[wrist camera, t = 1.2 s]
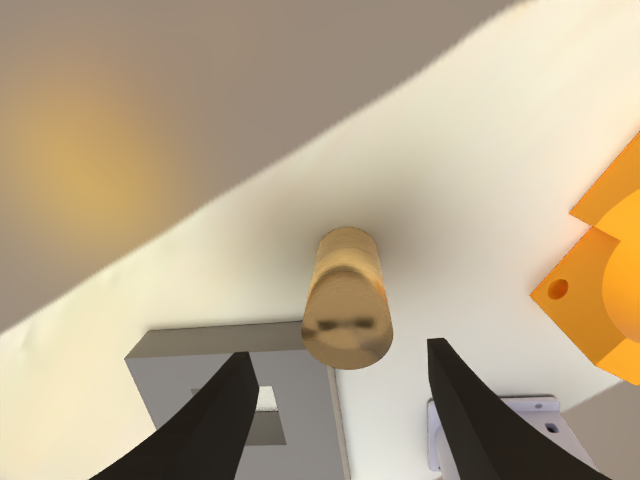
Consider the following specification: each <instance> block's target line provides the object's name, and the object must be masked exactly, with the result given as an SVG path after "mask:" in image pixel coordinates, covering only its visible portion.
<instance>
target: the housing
mask: <svg viewBox="0 0 640 480" xmlns="http://www.w3.org/2000/svg"><path fill="white" fill-rule="evenodd" d="M302 322H303V321H301V322H285V323H269V324H253V325H237V326H220V327H204V328H188V329H172V330H156V331H148V332H147V333H146V334H145V335H144V336H143V338H142V339H141V340H140V341H139V342H138V343H137V344H136V346H135V347H134V348H133V349H132V350H131V351H130V353H129V354H128V355H127V356H126V357H125V358H124V360H125V362H126V364H127V366H128V368H129V371H130V373H131V375H132V377H133V379H134V382H135V384H136V386H137V388H138V390H139V392H140V395H141V397H142V399H143V401H144V403H145V406H146V408H147V410H148V412H149V414H150V416H151V419H152V421H153V423H154V425H155V427H156V430H158V429H159V428H160V427H161V426H163V425H164V424H165V423H166V422H167V421H168V420H170V419H171V418H172V417H173V416H174V415H175V414H176V413H177V412H178V411H179V410H180V409H181V408H182V407H183V406H184V405H185V404H186V403H187V402H188V401H189V400H190V399H191V398H192V397H193V396H194V395H195V394H196V393H197V392H198V391H199V390H200V389H201V388H202V387H203V386H204V385H205V384H206V383H207V382H208V381H209V380H210V379H211V377H212V376H213V375H214V374H215V373H216V372H217V371H218V370H219V369H220V368H221V366H222V365H223V364H224V363H225V362H226V361H227V360H228V359H229V358H230V357H231V355H232V354H233V353H234V352H245V351H249V355H250V358H251V361H252V365H253V368H254V371H255V375H256V378H257V381H258V385H259V386H272V388H273V392H274V396H275V400H276V404H277V408H278V411H271V412H255V414H254V418H253V421H252V424H251V428H250V431H249V434H248V437H247V440H246V443H245V446H244V450H243V453H242V456H241V459H240V462H239V465H238V468H237V472H236V475H235V479H234V480H351V478H350V471H349V465H348V458H347V451H346V445H345V438H344V432H343V425H342V418H341V412H340V405H339V398H338V392H337V385H336V379H335V372H334V368H333V367H330V366H327V365H325V364H323V363H321V362H319V361H318V360H317V359H315V358H314V357H313V356H312V355H311V354H310V353H309V352H308V350H307V349H306V347H305V345H304V343H303V340H302V335H301V327H302Z"/></svg>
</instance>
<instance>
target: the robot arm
mask: <svg viewBox="0 0 640 480" xmlns="http://www.w3.org/2000/svg"><path fill="white" fill-rule="evenodd" d="M427 348H428V375H429V383H430V387H431V391H432V396H433V400H434V401H431V402H429V403H428V464H429V468H430V470H432V471H441V472H442V476H443V480H612V479H610V478H608V477H606V476H605V475H603V474H601V473H600V471H599V470H598V468H597V467H596V465H595V464H594V462H593V461H592V459H591V458H590V457H589V455H588V453H587V452H586V451H585V449H584V448H583V446H582V445H581V443H580V442H579V440H578V439H577V437H576V436H575V434H574V433H573V431H572V430H571V428H570V427H569V426H568V424H567V423H566V421H565V420H564V418H563V417H562V415H561V414H560V412H559V407H560V403H559V401H558V400H557V399H556V398H554V397H533V398H499V397H498V396H497V395H496V394H495V393H494V392H493V391H491V390H490V389H489V388H488V387H487V386H486V385H485V384H484V383H483V382H482V381H481V379H480V378H479V377H478V376H477V375H476V374H475V373H474V372H473V371H472V370H471V369H470V368H469V367H468V366H467V364H466V363H465V362H464V361H463V360H462V359H461V358H460V356H459V355H458V354H457V353H456V352H455V350H454V349H453V348H452V347H451V345H450V344H449V343H448V341H447V340H446V339H444V338H433V339H427ZM258 394H259V385H258V381H257V378H256V375H255V371H254V368H253V365H252V361H251V358H250V355H249V351H245V352H234V353H233V354H232V355H231V357H230V358H229V359H228V360H227V361H226V362H225V363H224V364H223V365H222V366H221V368H220V369H219V370H218V371H217V372H216V373H215V374H214V375H213V376H212V377H211V379H210V380H209V381H208V382H207V383H206V384H205V385H204V386H203V387H202V388H201V389H200V390H199V391H198V392H197V393H196V394H195V395H194V396H193V397H192V398H191V399H190V400H189V401H188V402H187V403H186V404H185V405H184V406H183V407H182V408H181V409H180V410H179V411H178V412H177V413H176V414H175V415H174V416H173V417H172V418H171V419H170V420H168V421H167V422H166V423H165V424H164V425H163V426H161V427H160V428H159V429H158V430H157V431H156V432H154V433H153V434H152V435H151V436H149V437H148V438H147V439H146V440H144V441H143V442H142V443H140V444H139V445H138V446H136V447H135V448H134V449H133V450H131V451H130V452H129V453H127V454H126V455H125V456H123V457H122V458H120V459H119V460H117V461H116V462H115V463H113V464H112V465H110V466H109V467H107V468H106V469H104V470H103V471H101V472H100V473H98V474H97V475H95V476H93V477H92V478H90V479H89V480H234V479H235V475H236V472H237V468H238V465H239V462H240V459H241V456H242V453H243V450H244V446H245V443H246V440H247V437H248V434H249V431H250V428H251V424H252V421H253V418H254V414H255V410H256V405H257V400H258Z"/></svg>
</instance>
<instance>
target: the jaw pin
mask: <svg viewBox="0 0 640 480" xmlns="http://www.w3.org/2000/svg"><path fill="white" fill-rule="evenodd" d="M301 335H302V340H303V343H304V345H305V347H306V349H307V350H308V352H309V353H310V354H311V355H312V356H313V357H314V358H315V359H317V360H318V361H319V362H321V363H323V364H325V365H327V366H330V367H333V368H337V369H344V370H354V369H360V368H364V367H367V366H370V365H372V364H374V363H376V362H377V361H379V360H380V359H381V358H382V357H383V356H384V355H385V354H386V353H387V351H388V350H389V348H390V346H391V343H392V340H393V327H392V322H391V317H390V312H389V307H388V302H387V296H386V291H385V286H384V281H383V276H382V271H381V266H380V260H379V255H378V250H377V246H376V244H375V242H374V240H373V239H372V238H371V237H370V236H369V235H368V234H367V233H365V232H364V231H362V230H360V229H357V228H353V227H342V228H338V229H335V230H333V231H331V232H329V233H328V234H327V235H325V236H324V237H323V239H322V240H321V242H320V244H319V246H318V250H317V255H316V260H315V264H314V269H313V274H312V279H311V284H310V289H309V293H308V298H307V303H306V308H305V313H304V317H303V322H302V327H301Z"/></svg>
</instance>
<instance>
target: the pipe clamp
mask: <svg viewBox="0 0 640 480" xmlns="http://www.w3.org/2000/svg"><path fill="white" fill-rule="evenodd" d="M569 214H571V215H572V216H574V217H576V218H578V219H580V220H582V221H583V222H585V223H587V224H589V225H591V226H592V227H591V229H590V230H589V231H588V232H587V233H586V234H585V235H584V236H583V237H582V238H581V240H580V241H579V242H578V243H577V244H576V245H575V246H574V247H573V248H572V249H571V250H570V252H569V253H568V254H567V255H566V256H565V257H564V258H563V259H562V260H561V261H560V263H559V264H558V265H557V266H556V267H555V268H554V269H553V270H552V271H551V272H550V273H549V275H548V276H547V277H546V278H545V279H544V280H543V281H542V282H541V283H540V284H539V286H538V287H537V288H536V289H535V290H534V291H533V292H532V293H531V294H530V295H529V296H530V297H531V298H532V299H533V300H534V301H535V302H536V303H537V304H538V305H539V306H540V307H541V309H542V310H543V311H544V312H545V313H546V314H547V315H548V316H549V317H550V318H551V319H552V320H553V321H554V322H555V324H556V325H557V326H558V327H559V328H560V329H561V330H562V331H563V332H564V333H565V334H566V335H567V336H568V337H569V338H570V340H571V341H572V342H573V343H574V344H575V345H576V346H577V347H578V348H579V349H580V350H581V351H582V352H583V353H584V354H585V356H586V357H587V358H588V359H589V360H590V361H591V362H592V363H593V364H594V365H595V366H597V367H599V368H601V369H603V370H605V371H607V372H609V373H611V374H613V375H615V376H617V377H619V378H621V379H623V380H625V381H628V382H630V383H632V384H634V385H636V386H637V385H639V384H640V131H639V133H638V134H637V135H636V136H635V137H634V138H633V140H632V141H631V142H630V143H629V144H628V145H627V146H626V148H625V149H624V150H623V151H622V152H621V153H620V155H619V156H618V157H617V158H616V159H615V160H614V162H613V163H612V164H611V165H610V166H609V167H608V168H607V170H606V171H605V172H604V173H603V174H602V175H601V177H600V178H599V179H598V180H597V181H596V182H595V184H594V185H593V186H592V187H591V188H590V189H589V190H588V192H587V193H586V194H585V195H584V196H583V197H582V199H581V200H580V201H579V202H578V203H577V204H576V206H575V207H574V208H573V209H572V210H571V211H570V212H569Z"/></svg>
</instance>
